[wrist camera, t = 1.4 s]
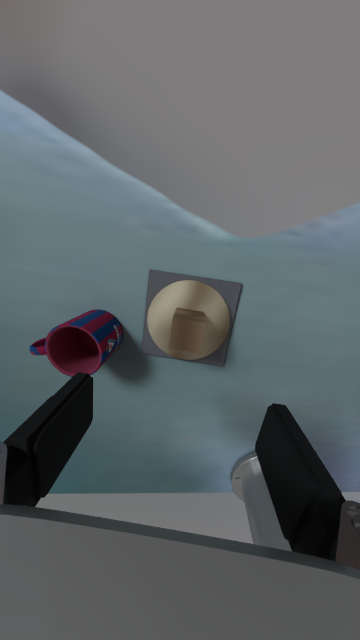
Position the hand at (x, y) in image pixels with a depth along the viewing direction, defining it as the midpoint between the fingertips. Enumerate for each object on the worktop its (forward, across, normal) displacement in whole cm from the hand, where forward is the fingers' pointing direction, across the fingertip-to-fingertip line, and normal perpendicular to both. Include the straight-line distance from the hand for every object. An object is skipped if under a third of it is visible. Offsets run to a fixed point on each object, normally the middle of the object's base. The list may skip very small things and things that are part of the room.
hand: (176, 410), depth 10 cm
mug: (+18, +14, +4) cm, 23 cm away
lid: (+17, 0, 0) cm, 17 cm away
